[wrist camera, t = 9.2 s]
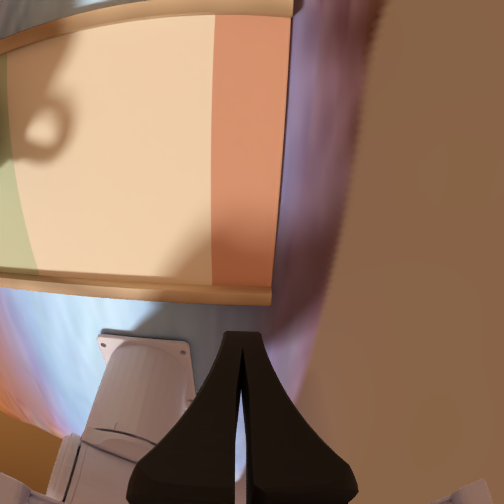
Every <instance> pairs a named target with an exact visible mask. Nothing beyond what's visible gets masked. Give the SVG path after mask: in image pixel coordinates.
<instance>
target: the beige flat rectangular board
mask: <svg viewBox="0 0 504 504" xmlns="http://www.w3.org/2000/svg"><path fill="white" fill-rule="evenodd" d="M292 16H293V0H148V1H141V2H134V3H128V4H122V5H116V6H111V7H106V8H101V9H96V10H92V11H88V12H83V13H79V14H75V15H72V16H68V17H64V18H61V19H57V20H54V21H51V22H48V23H44V24H41V25H38V26H35V27H32V28H30V29H27V30H24V31H21V32H19V33H16V34H13V35H11V36H8V37H6V38H3V39H1V40H0V134H1V136H0V287H5V288H13V289H21V290H29V291H38V292H48V293H57V294H67V295H78V296H89V297H101V298H114V299H127V300H142V301H158V302H177V303H198V304H223V305H260V306H271V298H272V290H271V283H272V272H273V261H274V250H275V239H276V227H277V216H278V203H279V191H280V178H281V165H282V152H283V138H284V124H285V109H286V94H287V78H288V61H289V43H290V23H291V17H292Z"/></svg>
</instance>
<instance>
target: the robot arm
mask: <svg viewBox="0 0 504 504" xmlns="http://www.w3.org/2000/svg"><path fill="white" fill-rule="evenodd" d="M97 341H98V344H99V347H100V350H101V352H102V355H103V358H104V360H105V363H106V365H107V367H106V369H105V372H104V375H103V377H102V380H101V383H100V386H99V389H98V391H97V394H96V397H95V400H94V403H93V406H92V409H91V412H90V415H89V418H88V421H87V424H86V427H85V430H84V432H83V434H82V436H81V438H80V436H79V435H77V434H75V433H72V434H71V435H68V436H65V437H64V438H63V441H62V444H61V447H60V450H59V453H58V456H57V459H56V462H55V465H54V468H53V471H52V475H51V478H50V482H49V485H48V489H47V492H46V496H45V495H43V494H40V493H38V492H35V491H32V490H31V489H30V488H29V487H28V486H26V485H25V484H23V483H22V482H20V481H18V480H16V479H14V478H12V477H10V476H7V475H5V474H3V473H1V472H0V504H235V440H236V429H237V421H238V412H239V403H240V394H241V393H242V403H243V414H244V423H245V433H246V504H348V502H350V501H351V500H352V499H353V498H354V497H355V496H356V494H357V493H358V492H359V491H358V485H357V482H356V479H355V476H354V474H353V472H352V470H351V468H350V466H349V464H347V463H346V462H345V461H344V460H343V459H342V458H340V457H339V456H338V455H337V454H336V453H335V452H334V451H333V450H332V449H331V448H330V447H329V446H328V445H327V444H326V443H324V441H323V440H322V439H321V438H320V437H319V436H318V435H317V434H316V433H315V431H314V430H313V429H312V428H311V427H310V426H309V425H308V423H307V422H306V421H305V419H304V418H303V417H302V415H301V414H300V413H299V411H298V410H297V409H296V407H295V406H294V404H293V403H292V401H291V400H290V398H289V397H288V395H287V393H286V392H285V390H284V388H283V386H282V385H281V383H280V381H279V379H278V377H277V375H276V373H275V371H274V369H273V367H272V365H271V362H270V360H269V358H268V355H267V352H266V350H265V347H264V344H263V340H262V336H261V334H260V333H259V332H241V331H226V332H225V333H224V335H223V339H222V343H221V346H220V349H219V352H218V354H217V357H216V359H215V361H214V363H213V366H212V368H211V370H210V372H209V374H208V376H207V378H206V379H205V381H204V383H203V385H202V387H201V388H200V390H199V392H198V393H197V395H196V392H195V385H194V378H193V370H192V362H191V354H190V346H189V344H188V343H187V342H185V341H175V340H161V339H149V338H137V337H127V336H117V335H108V334H99V335H98V337H97ZM182 350H183V351H182ZM186 409H187V410H186ZM428 504H493V501H492V498H491V496H490V492H489V490H488V487H487V484H486V481H485V479H484V478H482V479H480V480H477V481H475V482H473V483H471V484H468V485H466V486H463V487H461V488H460V489H458V490H456V491H455V492H453V493H452V494H451V495H450V496H447V497H445V498H442V499H439V500H436V501H433V502H431V503H428Z"/></svg>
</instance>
